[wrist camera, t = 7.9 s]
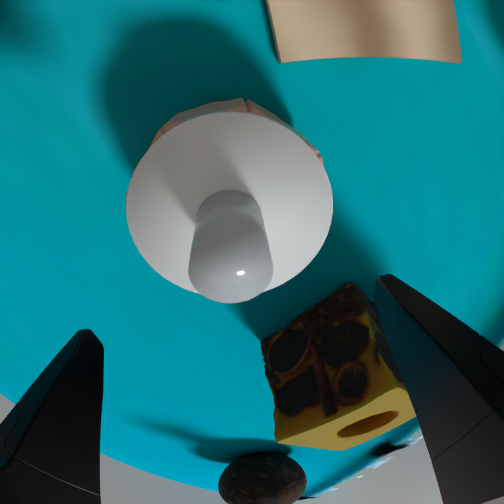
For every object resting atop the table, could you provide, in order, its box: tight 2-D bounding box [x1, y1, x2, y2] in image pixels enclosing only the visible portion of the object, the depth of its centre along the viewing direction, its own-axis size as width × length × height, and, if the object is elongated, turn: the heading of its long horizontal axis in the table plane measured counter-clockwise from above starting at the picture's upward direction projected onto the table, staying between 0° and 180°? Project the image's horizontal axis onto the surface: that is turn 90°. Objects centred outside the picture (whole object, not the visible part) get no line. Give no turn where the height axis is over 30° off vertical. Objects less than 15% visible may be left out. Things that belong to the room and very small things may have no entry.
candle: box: [261, 283, 416, 451], centre depth 23 cm, size 10×10×10 cm
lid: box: [126, 110, 333, 303], centre depth 12 cm, size 9×9×4 cm
